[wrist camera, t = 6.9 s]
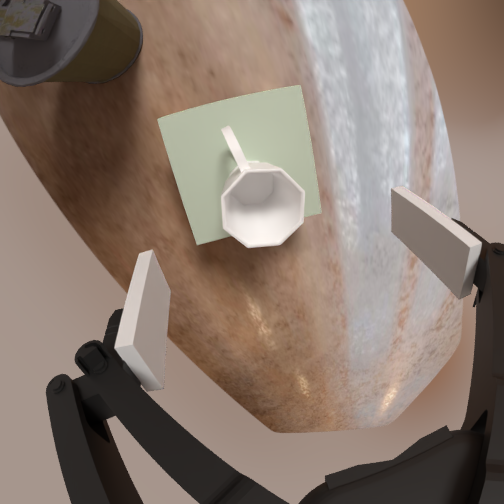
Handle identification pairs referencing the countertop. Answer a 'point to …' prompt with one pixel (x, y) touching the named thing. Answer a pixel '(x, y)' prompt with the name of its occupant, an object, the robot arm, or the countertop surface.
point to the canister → (66, 41)
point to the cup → (259, 200)
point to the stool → (252, 145)
